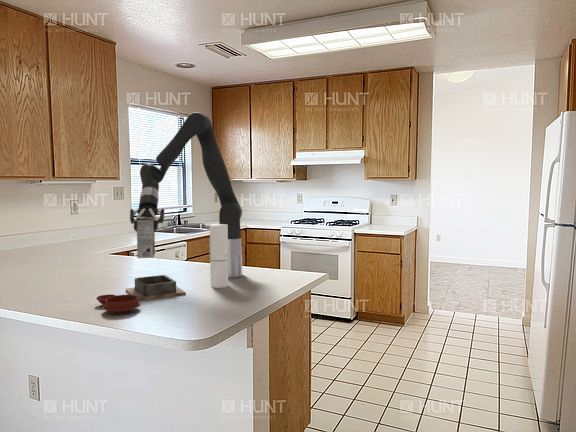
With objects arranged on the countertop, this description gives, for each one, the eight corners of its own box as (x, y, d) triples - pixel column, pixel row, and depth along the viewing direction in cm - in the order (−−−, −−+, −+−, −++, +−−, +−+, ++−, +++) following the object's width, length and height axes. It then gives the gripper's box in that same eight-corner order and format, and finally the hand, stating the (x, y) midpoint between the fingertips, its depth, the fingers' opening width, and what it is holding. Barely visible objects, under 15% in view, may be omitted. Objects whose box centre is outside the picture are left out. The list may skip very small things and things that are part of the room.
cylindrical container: (231, 284, 178) (230, 224, 177) (223, 288, 172) (222, 225, 170) (215, 283, 181) (215, 223, 179) (207, 287, 174) (206, 225, 172)
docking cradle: (171, 285, 177) (171, 273, 177) (185, 294, 162) (185, 281, 161) (125, 290, 168) (125, 278, 167) (136, 301, 152) (135, 287, 152)
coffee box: (139, 254, 181) (138, 216, 179) (155, 254, 182) (154, 216, 181) (136, 258, 172) (135, 218, 170) (153, 257, 173) (152, 217, 172)
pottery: (113, 319, 132) (112, 305, 132) (85, 307, 146) (84, 294, 146) (147, 311, 141) (147, 298, 141) (118, 300, 155) (118, 288, 154)
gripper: (130, 194, 182) (125, 224, 171) (165, 193, 184) (162, 223, 174) (133, 205, 188) (128, 236, 177) (167, 205, 190) (164, 235, 179)
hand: (145, 229), depth 175 cm, fingers closed on coffee box, 6 cm apart
